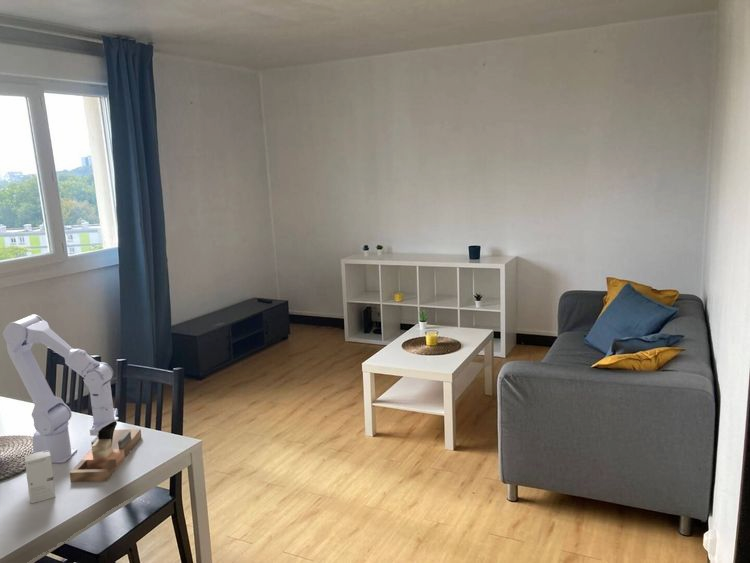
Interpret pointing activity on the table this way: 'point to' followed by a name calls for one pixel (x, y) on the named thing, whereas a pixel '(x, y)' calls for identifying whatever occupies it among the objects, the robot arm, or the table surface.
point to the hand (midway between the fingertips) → (107, 447)
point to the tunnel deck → (105, 467)
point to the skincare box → (39, 476)
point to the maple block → (102, 448)
